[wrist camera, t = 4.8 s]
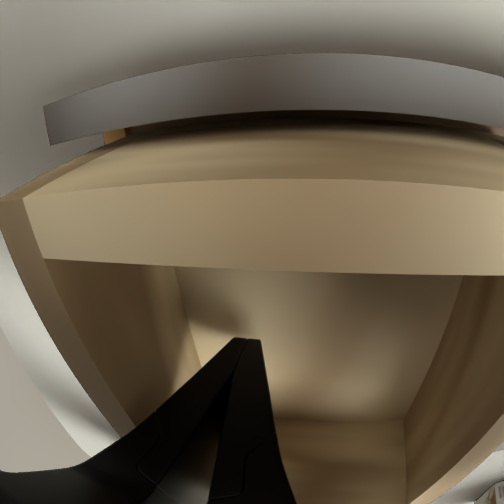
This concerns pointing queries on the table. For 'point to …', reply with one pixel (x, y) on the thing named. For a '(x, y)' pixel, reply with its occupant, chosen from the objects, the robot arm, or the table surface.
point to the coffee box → (493, 495)
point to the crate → (288, 286)
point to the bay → (285, 95)
